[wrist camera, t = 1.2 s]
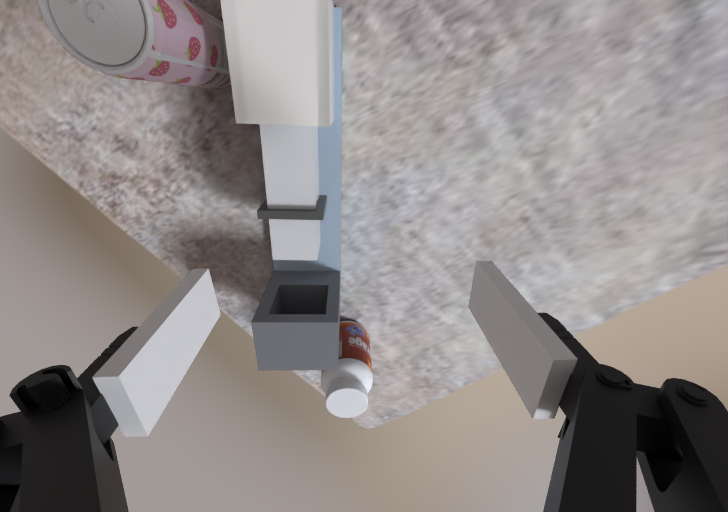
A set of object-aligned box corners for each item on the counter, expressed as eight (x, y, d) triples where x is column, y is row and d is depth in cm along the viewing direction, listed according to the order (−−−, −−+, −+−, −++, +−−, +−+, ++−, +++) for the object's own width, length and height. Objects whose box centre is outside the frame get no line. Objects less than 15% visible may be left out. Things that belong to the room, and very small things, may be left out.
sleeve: (256, 2, 27) (215, -43, 18) (333, 7, 27) (327, -35, 19) (266, 117, 31) (236, 123, 22) (334, 120, 31) (329, 126, 23)
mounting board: (251, 5, 28) (247, 1, 27) (342, 10, 28) (342, 7, 27) (279, 306, 42) (278, 311, 41) (340, 307, 42) (340, 311, 41)
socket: (274, 270, 38) (251, 322, 29) (340, 271, 39) (338, 322, 30) (278, 311, 41) (258, 370, 32) (340, 311, 41) (338, 369, 32)
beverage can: (186, 2, 27) (30, -95, 14) (250, 37, 29) (165, -22, 15) (173, 70, 30) (26, 43, 16) (233, 99, 31) (145, 97, 17)
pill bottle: (377, 339, 45) (386, 406, 35) (343, 359, 46) (342, 430, 36) (351, 311, 42) (352, 374, 33) (316, 333, 44) (306, 401, 34)
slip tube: (247, -72, 22) (219, -121, 18) (323, -67, 23) (317, -113, 18) (275, 239, 33) (263, 263, 28) (327, 240, 33) (324, 264, 28)
